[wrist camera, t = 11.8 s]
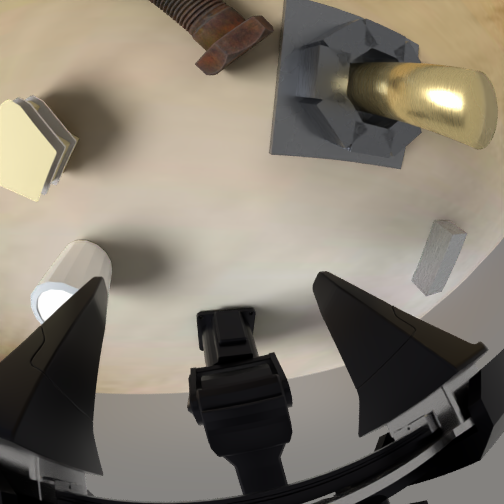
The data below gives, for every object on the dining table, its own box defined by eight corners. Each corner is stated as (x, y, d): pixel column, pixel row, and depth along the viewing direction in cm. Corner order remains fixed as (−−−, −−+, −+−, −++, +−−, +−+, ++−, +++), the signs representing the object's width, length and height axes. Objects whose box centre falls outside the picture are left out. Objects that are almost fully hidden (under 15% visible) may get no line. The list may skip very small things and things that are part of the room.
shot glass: (115, 297, 25) (105, 351, 20) (57, 284, 23) (37, 334, 17) (121, 242, 22) (105, 294, 17) (55, 227, 20) (24, 273, 14)
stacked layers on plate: (118, 114, 17) (96, 122, 12) (70, 205, 20) (46, 237, 15) (33, 67, 12) (-3, 66, 7) (-4, 158, 15) (-39, 179, 10)
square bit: (426, 275, 36) (441, 291, 33) (410, 279, 35) (425, 296, 32) (448, 219, 31) (467, 233, 28) (432, 219, 30) (452, 234, 27)
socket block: (397, 167, 24) (422, 181, 21) (269, 152, 21) (285, 165, 18) (414, 44, 17) (443, 45, 14) (284, -3, 14) (303, -18, 10)
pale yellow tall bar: (382, 102, 20) (500, 137, 9) (345, 117, 20) (465, 160, 10) (367, 58, 17) (491, 67, 7) (327, 70, 17) (454, 77, 7)
